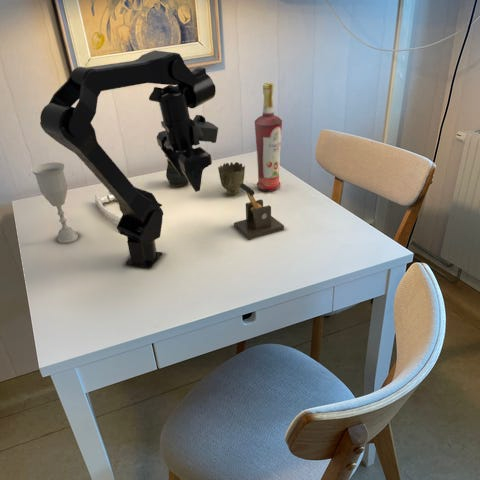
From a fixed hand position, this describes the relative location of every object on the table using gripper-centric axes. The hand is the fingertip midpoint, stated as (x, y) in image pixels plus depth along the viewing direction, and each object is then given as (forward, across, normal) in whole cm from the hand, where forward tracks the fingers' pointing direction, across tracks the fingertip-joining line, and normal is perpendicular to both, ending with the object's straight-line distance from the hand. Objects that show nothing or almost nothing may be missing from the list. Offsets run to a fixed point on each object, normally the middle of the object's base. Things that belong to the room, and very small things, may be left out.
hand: (190, 183), depth 115 cm
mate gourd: (+15, +31, -6) cm, 35 cm away
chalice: (+10, +13, +30) cm, 35 cm away
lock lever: (+7, -6, -12) cm, 15 cm away
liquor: (+17, +14, -27) cm, 35 cm away
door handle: (+12, +20, +14) cm, 27 cm away
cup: (+16, +16, -17) cm, 28 cm away
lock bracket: (+14, -7, -13) cm, 20 cm away
